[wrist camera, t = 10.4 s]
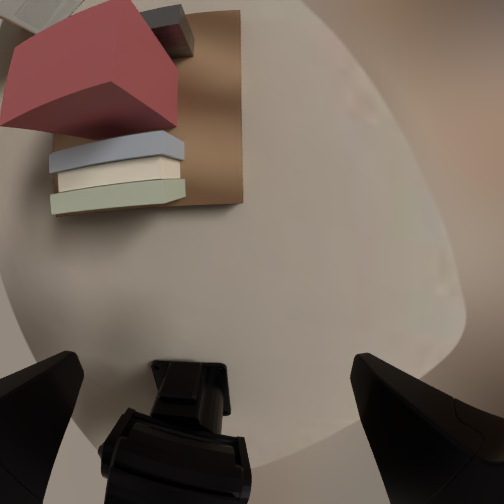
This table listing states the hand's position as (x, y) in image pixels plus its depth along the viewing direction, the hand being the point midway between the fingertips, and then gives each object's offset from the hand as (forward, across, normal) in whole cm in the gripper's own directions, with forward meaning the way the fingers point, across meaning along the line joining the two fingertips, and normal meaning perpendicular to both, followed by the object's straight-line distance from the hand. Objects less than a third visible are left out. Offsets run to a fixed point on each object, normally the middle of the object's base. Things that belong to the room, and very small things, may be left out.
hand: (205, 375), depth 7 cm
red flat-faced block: (+10, +6, -11) cm, 16 cm away
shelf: (+12, +6, -11) cm, 17 cm away
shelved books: (+10, +6, -6) cm, 13 cm away
